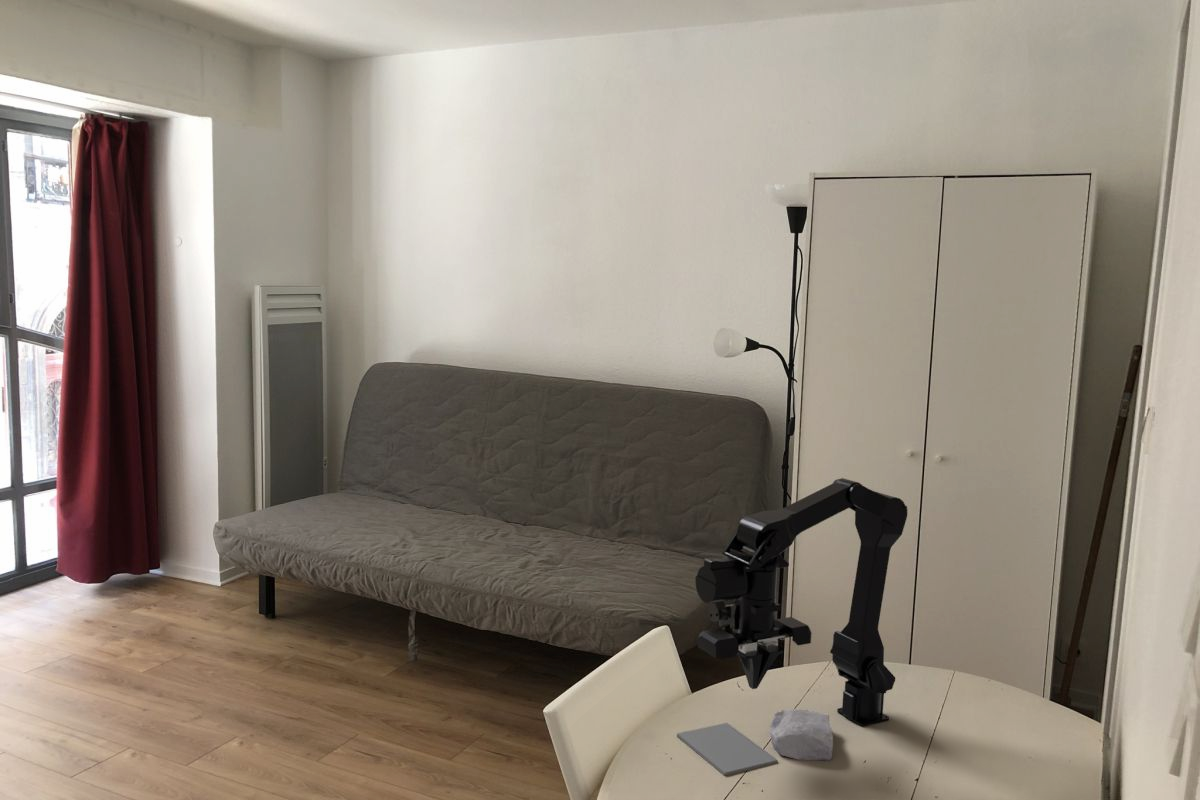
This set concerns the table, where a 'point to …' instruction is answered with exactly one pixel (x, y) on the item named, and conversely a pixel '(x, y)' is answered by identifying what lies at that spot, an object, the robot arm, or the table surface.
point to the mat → (726, 748)
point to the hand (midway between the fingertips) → (753, 687)
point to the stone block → (802, 734)
